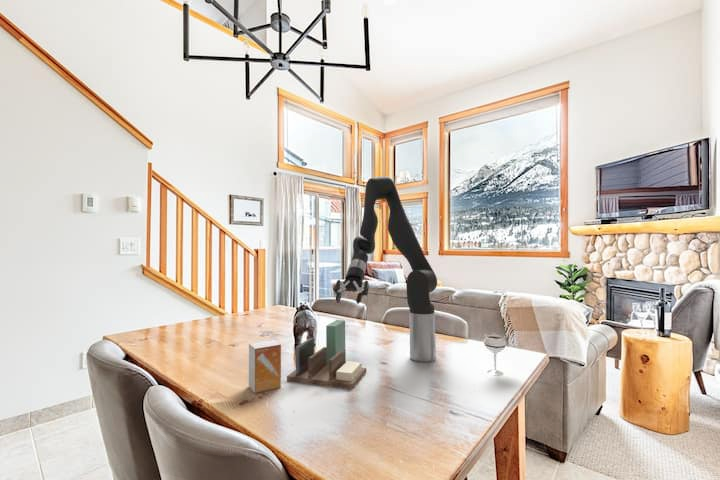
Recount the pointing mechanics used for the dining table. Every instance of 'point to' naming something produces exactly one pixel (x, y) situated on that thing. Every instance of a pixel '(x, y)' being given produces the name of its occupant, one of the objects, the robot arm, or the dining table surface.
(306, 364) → the bookend
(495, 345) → the wineglass
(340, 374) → the toppled book
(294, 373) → the book rack
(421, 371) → the dining table surface
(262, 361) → the small box
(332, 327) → the book
